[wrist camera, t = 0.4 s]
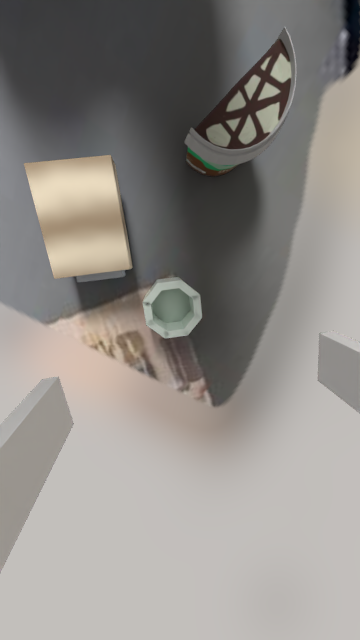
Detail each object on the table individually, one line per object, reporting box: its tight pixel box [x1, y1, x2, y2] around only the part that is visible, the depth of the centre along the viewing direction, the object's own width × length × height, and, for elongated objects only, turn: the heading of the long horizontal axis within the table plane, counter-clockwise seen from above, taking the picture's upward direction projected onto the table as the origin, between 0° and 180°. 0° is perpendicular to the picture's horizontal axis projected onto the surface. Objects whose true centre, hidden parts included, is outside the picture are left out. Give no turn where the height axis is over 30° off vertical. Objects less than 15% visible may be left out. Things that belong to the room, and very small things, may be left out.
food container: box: [184, 27, 296, 176], centre depth 26 cm, size 12×6×10 cm, turn 134°
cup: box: [143, 277, 202, 339], centre depth 33 cm, size 8×8×5 cm
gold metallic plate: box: [24, 155, 133, 279], centre depth 28 cm, size 12×9×3 cm
